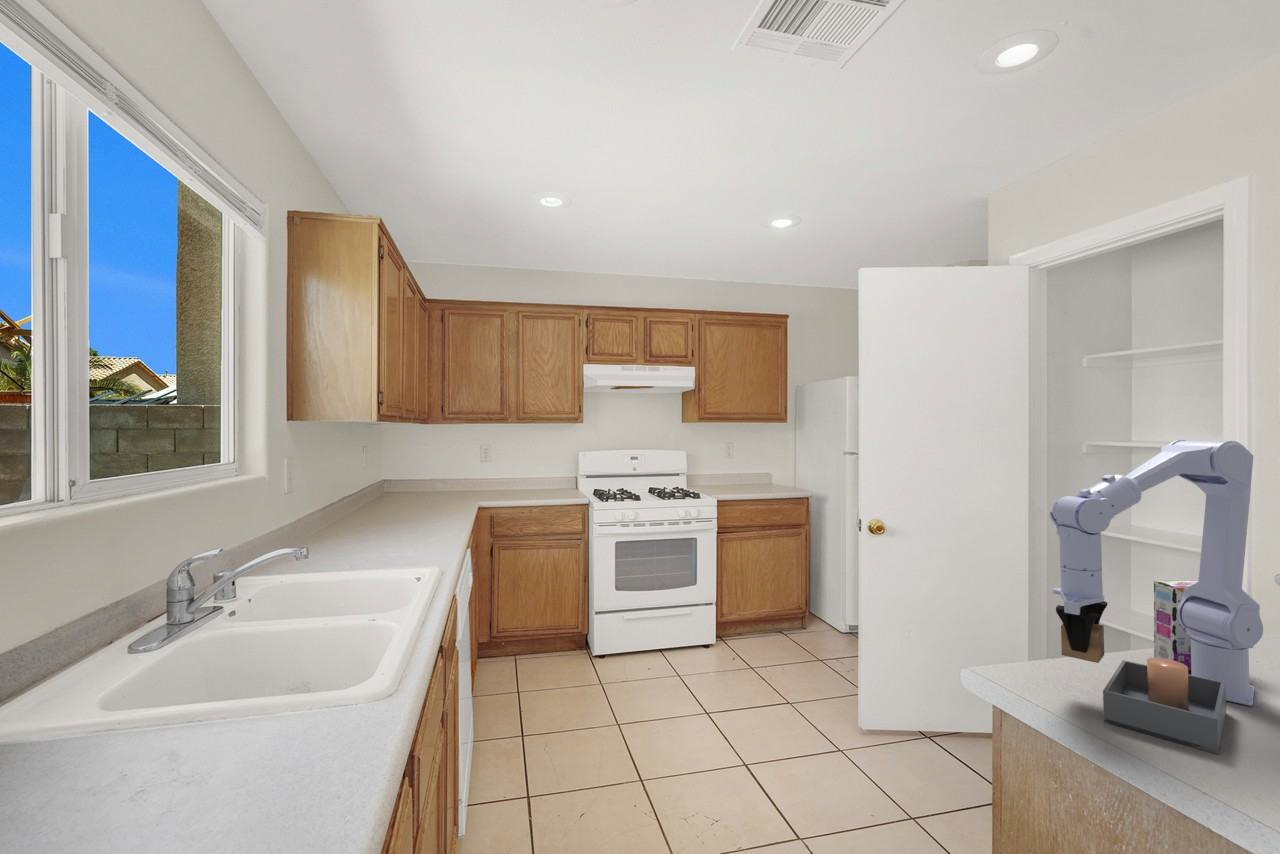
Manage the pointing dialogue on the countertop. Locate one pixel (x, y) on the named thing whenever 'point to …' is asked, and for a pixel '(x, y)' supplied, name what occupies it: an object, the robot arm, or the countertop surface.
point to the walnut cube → (1094, 649)
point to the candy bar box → (1170, 623)
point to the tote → (1166, 709)
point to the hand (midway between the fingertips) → (1082, 646)
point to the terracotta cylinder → (1168, 683)
